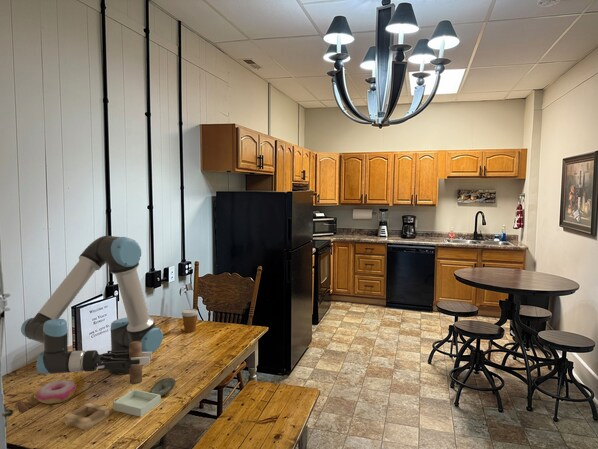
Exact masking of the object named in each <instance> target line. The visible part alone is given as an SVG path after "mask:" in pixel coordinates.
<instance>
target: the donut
mask: <svg viewBox="0 0 598 449" xmlns="http://www.w3.org/2000/svg"><path fill="white" fill-rule="evenodd" d="M76 391H77V385H76V384H75V382H74V381H72V380H68V379H62V380H55V381H51V382H49V383H48V382H47V383H46V384H44V385H42V386H41V387H40V388H39V389H38V390H37V391H36V392H37V393H36V399H37V400H38V402H40V403H43V404H46V405H55V404H59V403H62V402H65V401H67V400H69V399H71V398H72V397H73V396H74V395H75V393H76Z"/></svg>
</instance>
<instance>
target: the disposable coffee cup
mask: <svg viewBox="0 0 598 449" xmlns="http://www.w3.org/2000/svg"><path fill="white" fill-rule="evenodd" d="M198 315H199V311H198V310H197V309H196V308H188V309H184V310H182V312H181V316H182V323H183V329H184V332H185V333H188V334H189V333H190V334H191V333H194V332H196V330H197V322H198Z"/></svg>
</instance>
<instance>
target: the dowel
mask: <svg viewBox="0 0 598 449" xmlns="http://www.w3.org/2000/svg"><path fill="white" fill-rule="evenodd" d="M132 357H142V342H140V341H134V342H131V343H129V359H130V360H131V358H132ZM142 382H143V366H142V365H130V373H129V384H130V385H139V384H141V383H142Z"/></svg>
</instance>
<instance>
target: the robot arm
mask: <svg viewBox="0 0 598 449" xmlns="http://www.w3.org/2000/svg"><path fill="white" fill-rule="evenodd" d="M141 257H142V248H141V246H140V244H139V242H137V241H136V240H135V239H133V238H130V237H126V236H113V235H103V236H100V237H98V238H97V239H94V241H92V242H91V243H90V244H89V245H88V246H87V247H86V248H85V249H84V250H83V251H82V252H81V253H80V255H79V256H78V262H77V263H76V264H75V266H73V268H72V269H71V270H70V272H69V273H68V274H67V275H66V277H65V278H64V279H63V281H62V282H61V283H60V284H59V285H58V287H57V288H56V289H55V290H54V292H53V293H52V294H51V295H50V297H49V298H48V299H47V301H45V303H44V304H43V306H42V307H41V308H40V310H39V311H38V312H37V313H36V314H35V316H34V317H30V318H28V319H26V320H25V321H24V322H23V323H22V324H21V327H20V332H21V334H22V336H24V337H25V338H27V339H29V340H33V341H36V342H38V343H41V344H43V352H41V353H40V354H39V355H38V356H37V359H36V364H35V366H36V367H35V368H36V371H37V372H38V373H39V374H40V375H41V374H45V375H46V374H47V375H49V374H50V375H55V374H64V373H65V374H67V373H75V374H78V373H83V372H85V373H89V372H95V371H96V370H97V371H99V372H100V371H104V370H107V372H108V373H110V374H114V375H125V374H130V365H142V367H143V366H146V365H150V360H152V359H153V353H154V352H156V351H157V350H158V349H159V348H160V346H161V345H162V343H163V339H164V334H163V333H164V332H163V331H162V329H160V328H159V327H157V326H156V323H155V320H154V318H153V317H152V316H150V315H149V314H150V313H149V312H148V307H147V302H146V301H145V296H144V292H143V288H142V285H141V281H140V277H139V274H138V270H137V269H138V267H139V266H140V260H141ZM105 264H107V265H108V268H109V272H110V274H113V275H115V278H116V282H117V285H118V289H119V292H120V296H121V300H122V303H123V306H124V311H125V315H126V317H123V318H118V319H116V320H115V319H114V320H113V321H112V322H111V324H110V344H111V345H110V348H111V350H107V352H104V353H101V354H99V352H98V350H96V349H95V350H93V349H91V350H86V351H85V350H72V351H71V350H70V351H69V347H68V342H69V341H68V336H69V334H68V331H69V329H68V323H67V322H68V321H67V320H66V319H65V318H61V317H62V315H63V314H64V312H65V311H66V310H67V309H68V307H69V306H70V305H71V304H72V302H73V301H74V299H75V298H76V297H77V295H78V294H79V293H80V291H81V290H82V289H83V288H84V286H85V285H86V284H87V283H88V281H89V279H90V278H91V277H92V276H93V275H94V273H95V272H96V271H99V270H100V269H101V268H102V267H103V266H104V265H105ZM134 341H140V342H142V357H132V358H131V360H130V359H129V343H131V342H134Z"/></svg>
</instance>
